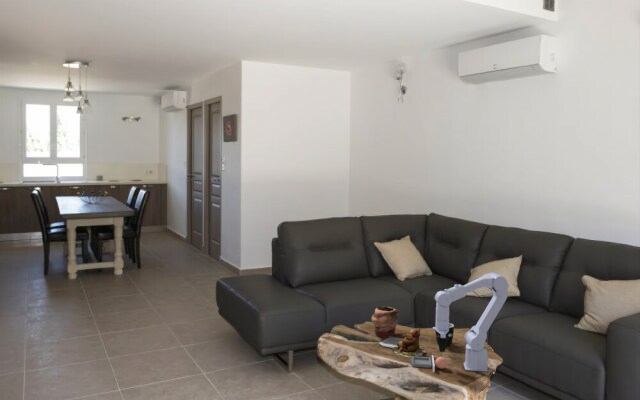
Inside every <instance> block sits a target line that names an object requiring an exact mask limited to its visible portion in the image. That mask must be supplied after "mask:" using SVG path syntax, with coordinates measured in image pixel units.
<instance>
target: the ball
mask: <svg viewBox="0 0 640 400" xmlns="http://www.w3.org/2000/svg"><path fill="white" fill-rule="evenodd" d="M434 364H435V367H437V369H440V370H441V369H445V368H447V365H448V361H447V360H446V358H445V357H443V356H439V357H438V356H437V358H436V359H435V361H434Z"/></svg>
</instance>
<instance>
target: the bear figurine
mask: <svg viewBox="0 0 640 400" xmlns="http://www.w3.org/2000/svg"><path fill="white" fill-rule="evenodd" d="M404 335H405V338H402V340H399V341H398V342H396V346H393V347H392V348H391V351H392V352H393V351H394V352H393V353H395V354H396V355H397V356H398V355H399V356H401V357H405V358H409V359H412V356H416V357H423V355H424V354H425V353H426V352H427V351H426V349H425V347H424V346H421V345H420V336H421V328H418V329H417V328H416V329H411V330H410V331H409V333H405V334H404Z"/></svg>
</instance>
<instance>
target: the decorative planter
mask: <svg viewBox="0 0 640 400" xmlns="http://www.w3.org/2000/svg"><path fill="white" fill-rule="evenodd" d="M399 317H400V311H399V310H398V309H395V308H393V307H390V306H378V307H376V308H375V309H374V313H373V314H372V316H371V322H372V324H373V325H374V334H375V335H376V336H378V337H380V338H391V337H394V335H395V333H396V328H397V325H398V322H399Z"/></svg>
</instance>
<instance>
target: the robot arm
mask: <svg viewBox="0 0 640 400" xmlns="http://www.w3.org/2000/svg"><path fill="white" fill-rule="evenodd" d="M509 286H510V284H509V282H508V280H507V278H506V277H505V276H502V275H501V274H499V273H498V272H496V271H491V272H489V273H486V274H484V275H482V276H480V277H478V278H477V279H475V280H471V281H470V282H468V283H466V284H464V285H462V284H459V283H458V284H454V286H453V287H449V288H445V289H444V290H440V291H437V292H436V294H435V296H434V297H433V298H434V301H436V304H435V305H436V307H435V326H433V327H432V330H433V331H435V338H437V340H438V344H437V345H438V351H439V352H443V353H445V351H446V348H447V347H446V344H447V342H448V340H449V337H446V333H447V332H448V331H449V323H450V305H451V304H452V302H455V301H457V300H460V299H462V298H465V297H466V296H467V294H468V293H470V292H472V291H475V290H479V289H481V288H483V287H485V288H489V289H491V291H492V294H493V296H492V297H491V298H490V301H489V302H488V304H487V306H486V308H485V310H484V311H483V313H482V314H481V315H480V318H479V319H478V321H477V323H476V324H475V325H473V326H471V328H470V329H469V330H468V331H467V332H465V334H464V337H463V339H464V342H466V344H465V359H464V362H463V367H464V369H465V371H471V372H488V361H489V359H488V355H489V354H488V349H487V348H485V344H486V340H487V338H488V337H487V332H489V331H488V330H489V329H490V328H491V326H492V324H493V322H494V321H495V319H496V317H497V316H498V314H499V313H500V311H501V309H502V308H503V306H504V304H505V302H506V300H507V298H508V288H509ZM436 334H437V335H436ZM437 340H436V341H437Z"/></svg>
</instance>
